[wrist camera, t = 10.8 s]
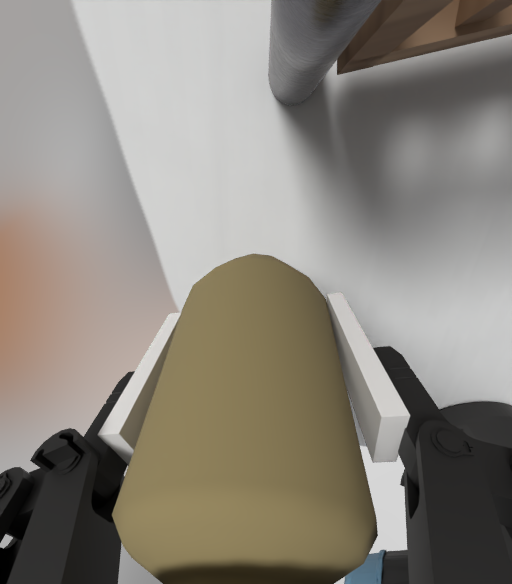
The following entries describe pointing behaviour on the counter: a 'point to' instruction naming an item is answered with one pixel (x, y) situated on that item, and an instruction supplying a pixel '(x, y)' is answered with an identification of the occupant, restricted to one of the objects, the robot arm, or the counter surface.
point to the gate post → (310, 42)
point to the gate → (423, 29)
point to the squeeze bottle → (249, 441)
